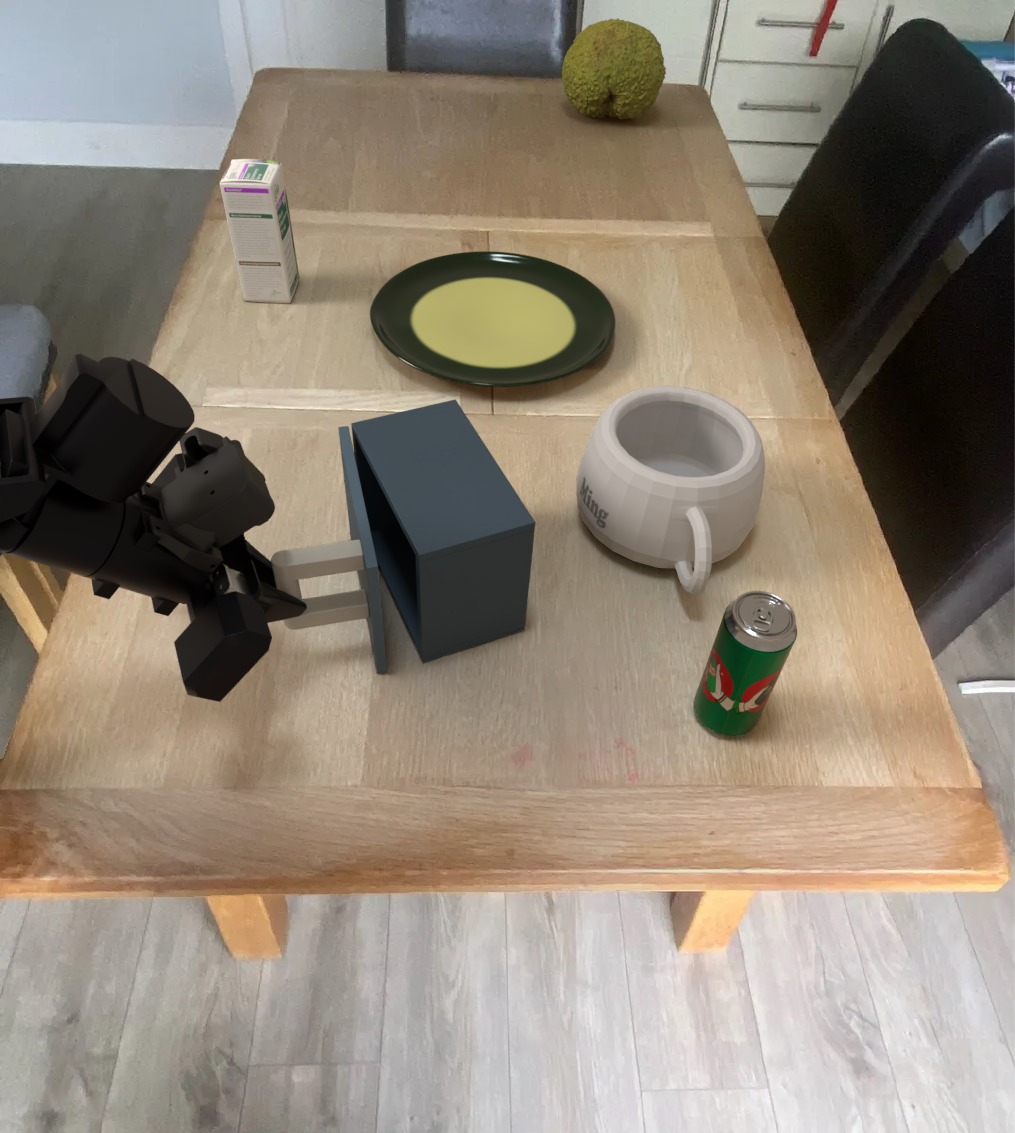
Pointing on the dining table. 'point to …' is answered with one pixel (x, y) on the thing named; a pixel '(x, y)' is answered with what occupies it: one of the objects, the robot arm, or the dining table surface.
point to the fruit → (613, 70)
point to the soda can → (745, 662)
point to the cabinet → (444, 528)
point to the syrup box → (260, 229)
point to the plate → (493, 319)
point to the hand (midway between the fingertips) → (299, 600)
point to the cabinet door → (339, 568)
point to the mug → (672, 480)
